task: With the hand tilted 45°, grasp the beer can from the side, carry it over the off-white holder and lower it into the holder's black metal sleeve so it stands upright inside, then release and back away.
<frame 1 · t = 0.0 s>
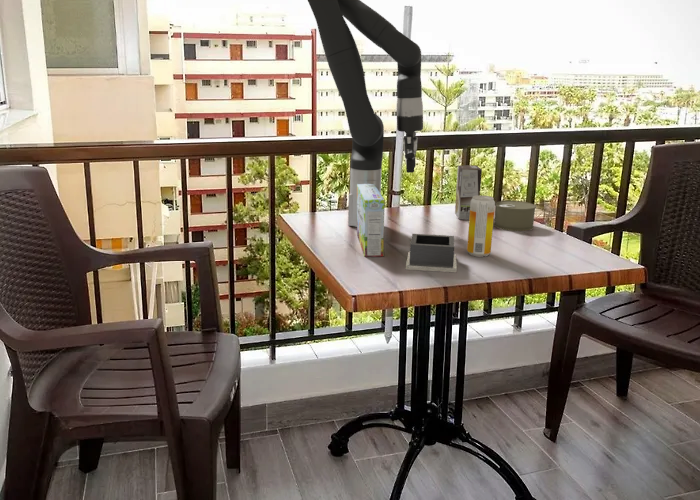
hand: (411, 170, 193), 17 cm above the table, tool pointing down, fingers open, 8 cm apart
coffee box: (466, 217, 213), on the table
can holder: (431, 263, 162), on the table
beer can: (478, 254, 171), on the table
grey round container: (513, 227, 201), on the table
snack box: (369, 246, 177), on the table
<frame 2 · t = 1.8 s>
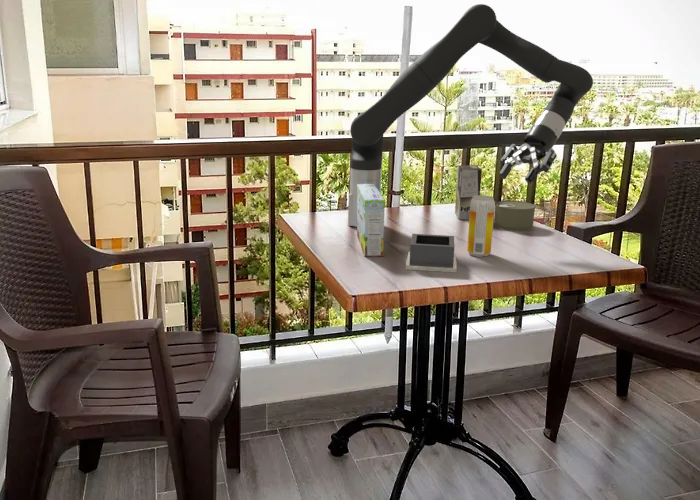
hand: (514, 179, 173), 19 cm above the table, tool tilted 45°, fingers open, 8 cm apart
nothing on the table moved.
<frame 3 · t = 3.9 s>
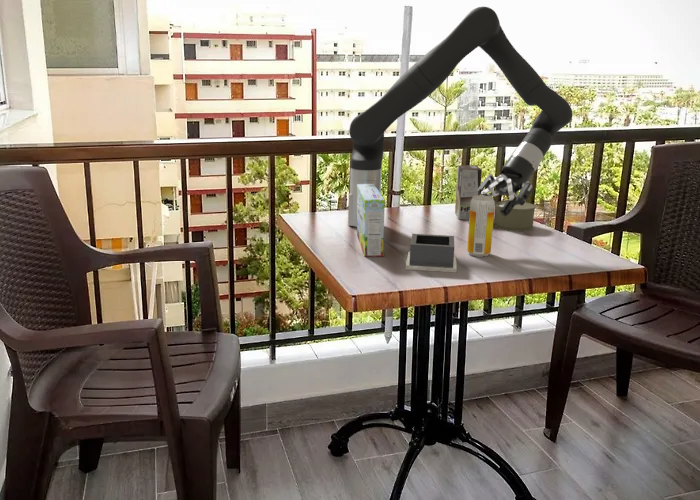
hand: (490, 211, 170), 11 cm above the table, tool tilted 45°, fingers open, 8 cm apart
nothing on the table moved.
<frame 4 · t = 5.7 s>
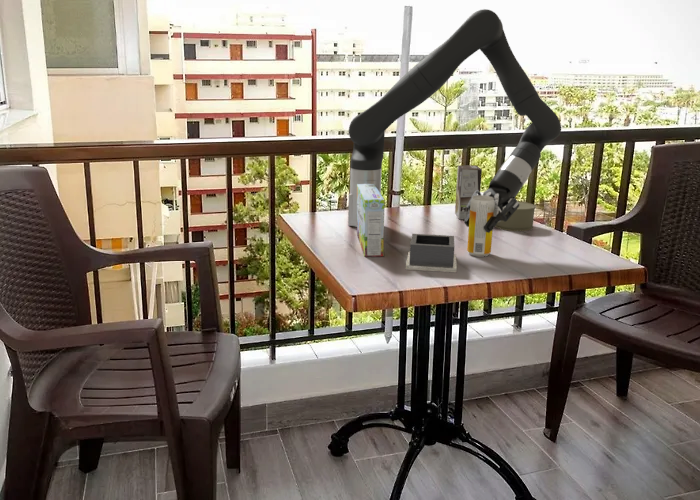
hand: (476, 227, 168), 7 cm above the table, tool tilted 45°, fingers closed on beer can, 6 cm apart
beer can: (478, 254, 171), on the table, touching gripper
everything else where it was.
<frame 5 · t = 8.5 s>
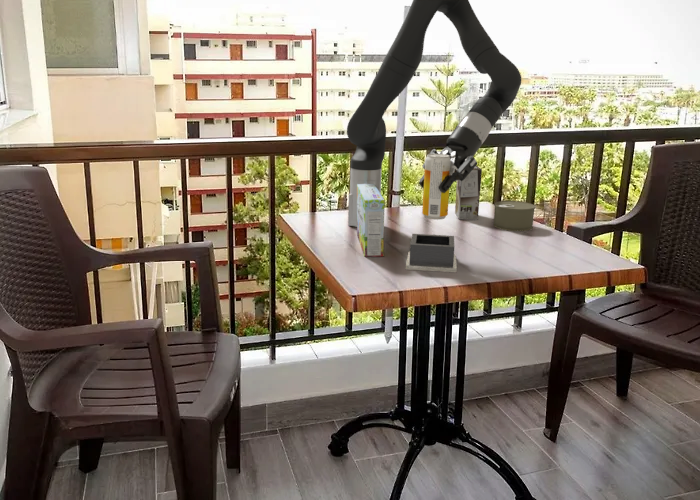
hand: (431, 188, 156), 19 cm above the table, tool tilted 45°, fingers closed on beer can, 6 cm apart
beer can: (434, 217, 159), point 12 cm above the table, touching gripper
everything else where it was.
when the fingers open (10 cm above the table, at t = 11.2 s): beer can drops 1 cm, resting on can holder.
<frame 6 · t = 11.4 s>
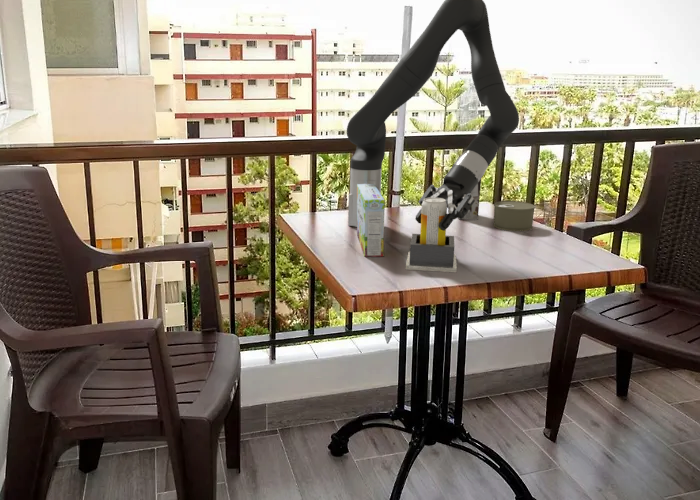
hand: (429, 224, 159), 10 cm above the table, tool tilted 45°, fingers open, 7 cm apart
beer can: (431, 259, 162), point 1 cm above the table, touching can holder
everything else where it was.
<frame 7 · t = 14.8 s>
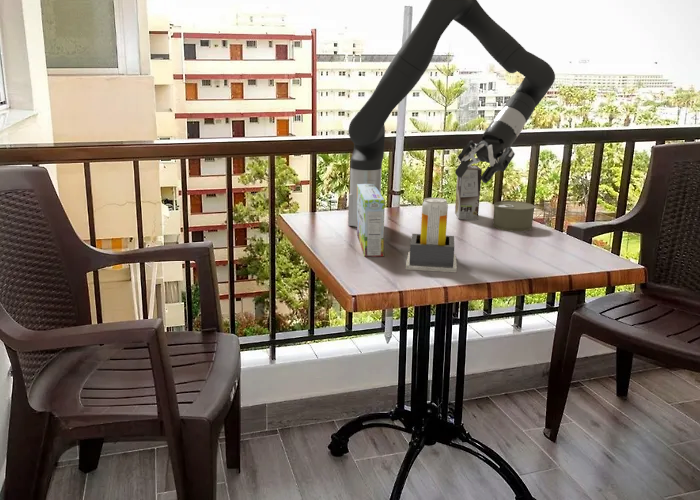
hand: (470, 178, 164), 20 cm above the table, tool tilted 45°, fingers open, 8 cm apart
nothing on the table moved.
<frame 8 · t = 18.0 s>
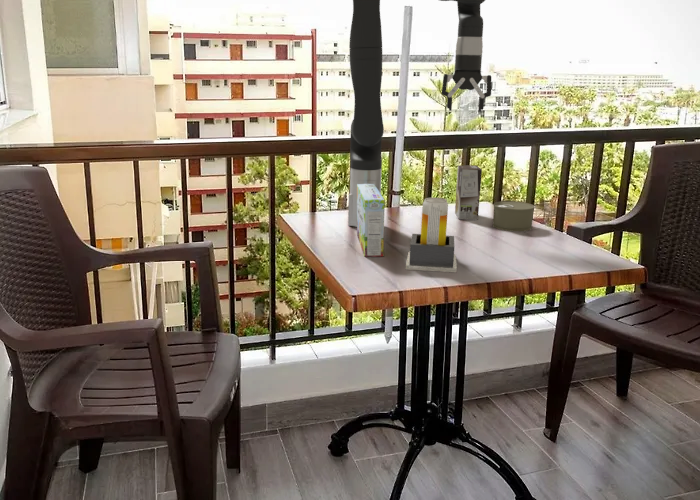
hand: (464, 111, 194), 34 cm above the table, tool pointing down, fingers open, 8 cm apart
nothing on the table moved.
at the end: beer can 0.2 cm off-centre on the can holder, point 0.8 cm above the can holder's base; beer can tilted 0°; the gripper is holding nothing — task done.
